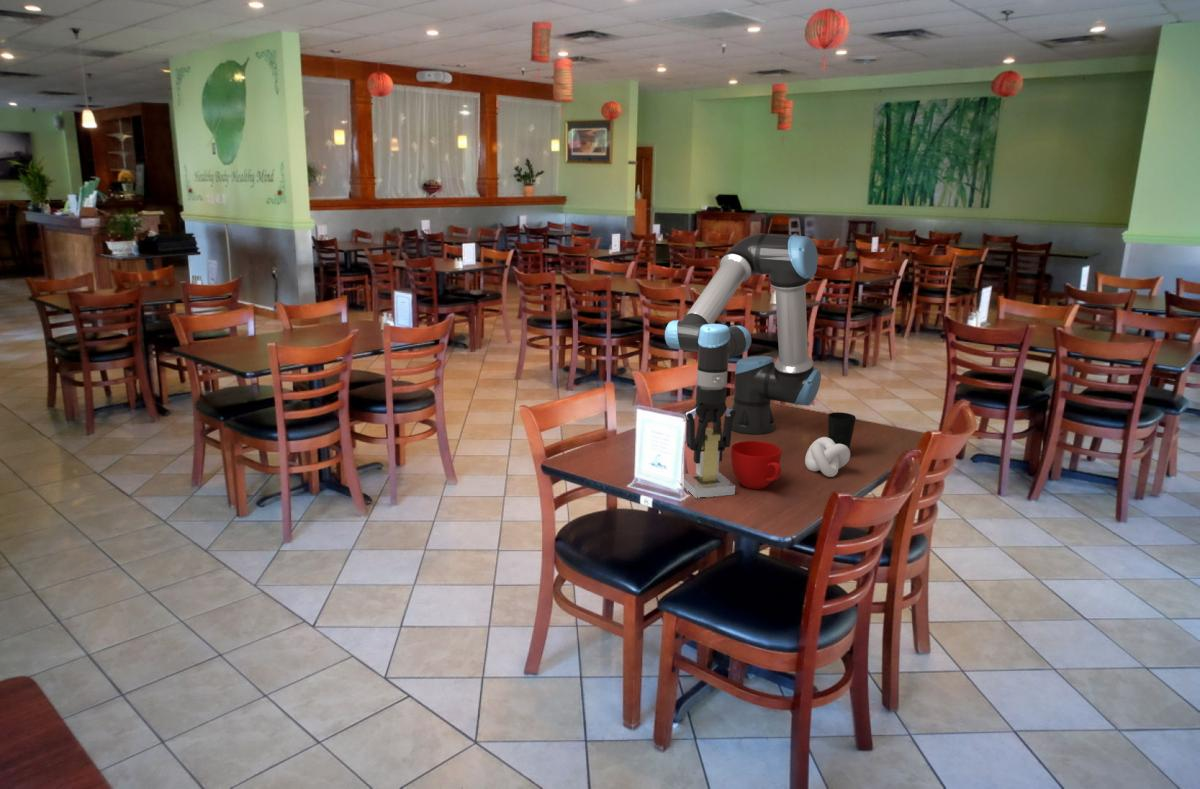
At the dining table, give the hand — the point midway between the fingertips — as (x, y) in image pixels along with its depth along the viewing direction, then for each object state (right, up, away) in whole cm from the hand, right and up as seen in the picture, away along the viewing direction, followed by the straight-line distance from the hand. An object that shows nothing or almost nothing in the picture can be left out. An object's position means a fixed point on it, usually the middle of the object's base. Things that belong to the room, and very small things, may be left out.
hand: (707, 473), depth 209 cm
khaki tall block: (0, -2, +1) cm, 3 cm away
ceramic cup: (+14, -4, +3) cm, 15 cm away
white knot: (+34, -1, +14) cm, 37 cm away
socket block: (0, -4, +1) cm, 4 cm away
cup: (+42, +3, +28) cm, 51 cm away
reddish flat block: (-3, +2, +9) cm, 10 cm away
